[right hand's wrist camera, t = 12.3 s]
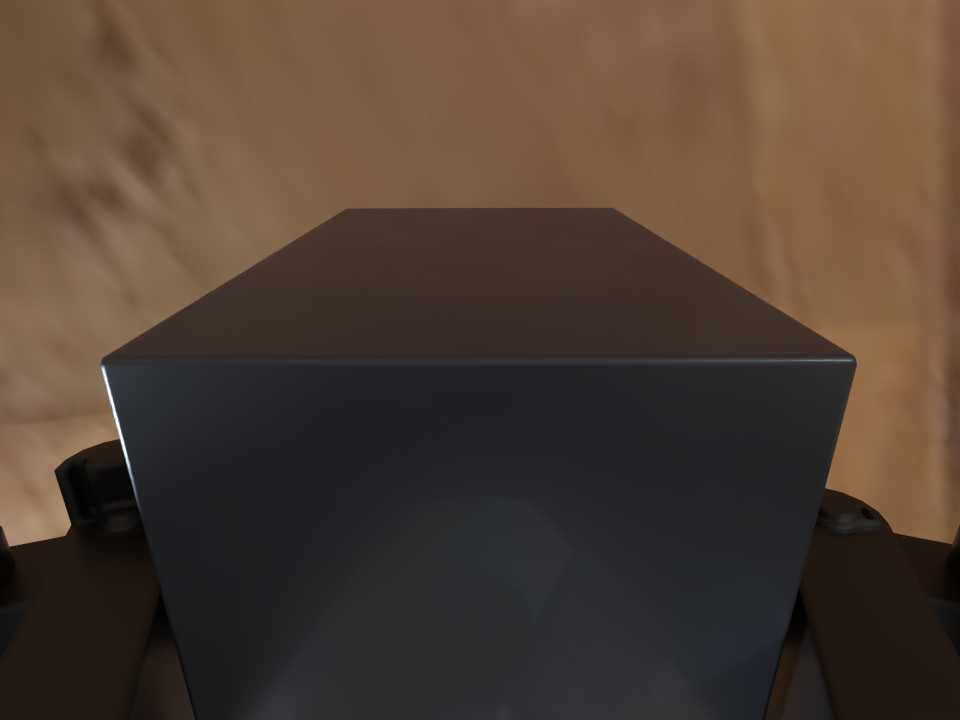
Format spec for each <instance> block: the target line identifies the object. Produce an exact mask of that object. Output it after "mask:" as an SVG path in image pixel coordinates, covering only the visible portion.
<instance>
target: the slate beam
mask: <svg viewBox="0 0 960 720" xmlns="http://www.w3.org/2000/svg"><path fill="white" fill-rule="evenodd" d="M856 366H857V364H856V358H855V357H854V356H853V355H852V354H850V353H848V352H847V351H845V350H844V349H842V348H840V347H839V346H837V345H835V344H834V343H832V342H831V341H829V340H827V339H826V338H824V337H822V336H821V335H819V334H817V333H816V332H814V331H813V330H811V329H809V328H808V327H806V326H804V325H803V324H801V323H800V322H798V321H796V320H795V319H793V318H791V317H790V316H788V315H787V314H785V313H783V312H782V311H780V310H778V309H777V308H775V307H773V306H772V305H770V304H769V303H767V302H765V301H764V300H762V299H760V298H759V297H757V296H756V295H754V294H752V293H751V292H749V291H747V290H746V289H744V288H743V287H741V286H739V285H738V284H736V283H734V282H733V281H731V280H730V279H728V278H726V277H725V276H723V275H721V274H720V273H718V272H716V271H715V270H713V269H712V268H710V267H708V266H707V265H705V264H703V263H702V262H700V261H699V260H697V259H695V258H694V257H692V256H690V255H689V254H687V253H686V252H684V251H682V250H681V249H679V248H677V247H676V246H674V245H672V244H671V243H669V242H668V241H666V240H664V239H663V238H661V237H659V236H658V235H656V234H655V233H653V232H651V231H650V230H648V229H646V228H645V227H643V226H642V225H640V224H638V223H637V222H635V221H633V220H632V219H630V218H628V217H627V216H625V215H624V214H622V213H620V212H619V211H617V210H615V209H614V208H408V209H346V210H344V211H342V212H341V213H339V214H337V215H336V216H334V217H332V218H331V219H329V220H328V221H326V222H324V223H323V224H321V225H319V226H318V227H316V228H314V229H313V230H311V231H310V232H308V233H306V234H305V235H303V236H301V237H300V238H298V239H296V240H295V241H293V242H292V243H290V244H288V245H287V246H285V247H283V248H282V249H280V250H278V251H277V252H275V253H274V254H272V255H270V256H269V257H267V258H265V259H264V260H262V261H260V262H259V263H257V264H256V265H254V266H252V267H251V268H249V269H247V270H246V271H244V272H242V273H241V274H239V275H238V276H236V277H234V278H233V279H231V280H229V281H228V282H226V283H224V284H223V285H221V286H220V287H218V288H216V289H215V290H213V291H211V292H210V293H208V294H206V295H205V296H203V297H202V298H200V299H198V300H197V301H195V302H193V303H192V304H190V305H189V306H187V307H185V308H184V309H182V310H180V311H179V312H177V313H175V314H174V315H172V316H171V317H169V318H167V319H166V320H164V321H162V322H161V323H159V324H157V325H156V326H154V327H153V328H151V329H149V330H148V331H146V332H144V333H143V334H141V335H139V336H138V337H136V338H135V339H133V340H131V341H130V342H128V343H126V344H125V345H123V346H121V347H120V348H118V349H117V350H115V351H113V352H112V353H110V354H108V355H107V356H105V357H103V359H102V361H101V370H102V374H103V378H104V381H105V385H106V389H107V393H108V396H109V400H110V404H111V407H112V411H113V415H114V419H115V422H116V426H117V430H118V434H119V437H120V441H121V445H122V449H123V452H124V456H125V460H126V463H127V467H128V471H129V475H130V478H131V482H132V486H133V490H134V493H135V497H136V501H137V504H138V508H139V512H140V516H141V519H142V523H143V527H144V531H145V534H146V538H147V542H148V546H149V549H150V553H151V557H152V560H153V564H154V568H155V572H156V575H157V579H158V583H159V587H160V590H161V594H162V598H163V602H164V605H165V609H166V613H167V616H168V620H169V624H170V628H171V631H172V635H173V639H174V643H175V646H176V650H177V654H178V657H179V661H180V665H181V669H182V672H183V676H184V680H185V684H186V687H187V691H188V695H189V699H190V702H191V706H192V710H193V713H194V717H195V720H765V716H766V713H767V709H768V705H769V701H770V697H771V693H772V690H773V686H774V682H775V678H776V674H777V670H778V666H779V663H780V659H781V655H782V651H783V647H784V643H785V639H786V636H787V632H788V628H789V624H790V620H791V616H792V612H793V609H794V605H795V601H796V597H797V593H798V589H799V586H800V582H801V578H802V574H803V570H804V566H805V562H806V559H807V555H808V551H809V547H810V543H811V539H812V535H813V532H814V528H815V524H816V520H817V516H818V512H819V508H820V505H821V501H822V497H823V493H824V489H825V485H826V482H827V478H828V474H829V470H830V466H831V462H832V458H833V455H834V451H835V447H836V443H837V439H838V435H839V431H840V428H841V424H842V420H843V416H844V412H845V408H846V404H847V401H848V397H849V393H850V389H851V385H852V381H853V377H854V374H855V370H856Z"/></svg>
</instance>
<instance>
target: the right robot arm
mask: <svg viewBox="0 0 960 720" xmlns="http://www.w3.org/2000/svg"><path fill="white" fill-rule="evenodd" d="M54 471H55V475H56V478H57V481H58V484H59V487H60V490H61V493H62V496H63V500H64V503H65V506H66V509H67V512H68V515H69V518H70V521H71V527H70V528H69V530H68V532H67V534H66V536H63V537H58V538H53V539H48V540H42V541H37V542H32V543H27V544H22V545H16V546H11V547H9V545H8V542H7V540H6V537H5V534H4V532H3V529H2V527H1V526H0V720H195V717H194V713H193V710H192V706H191V702H190V699H189V695H188V691H187V687H186V684H185V680H184V676H183V672H182V669H181V665H180V661H179V657H178V654H177V650H176V646H175V643H174V639H173V635H172V631H171V628H170V624H169V620H168V616H167V613H166V609H165V605H164V602H163V598H162V594H161V590H160V587H159V583H158V579H157V575H156V572H155V568H154V564H153V560H152V557H151V553H150V549H149V546H148V542H147V538H146V534H145V531H144V527H143V523H142V519H141V516H140V512H139V508H138V504H137V501H136V497H135V493H134V490H133V486H132V482H131V478H130V475H129V471H128V467H127V463H126V460H125V456H124V452H123V449H122V445H121V441H120V439H118V440H113V441H109V442H104V443H101V444H98V445H96V446H93V447H90V448H87V449H84V450H82V451H80V452H79V453H77V454H75V455H73V456H71V457H70V458H68V459H66V460H65V461H64V462H63V463H62V464H61V465H60V466H59V467H58V468H57V469H55V470H54ZM765 720H960V525H959V528H958V531H957V533H956V536H955V539H954V541H953V544H948V543H942V542H937V541H932V540H927V539H921V538H916V537H911V536H906V535H901V534H897V533H893V531H892V529H891V527H890V525H889V524H888V523H887V521H886V520H885V519H884V518H883V517H882V515H881V514H880V513H879V512H878V511H876V510H875V509H873V508H872V507H870V506H869V505H867V504H866V503H864V502H863V501H861V500H859V499H856V498H854V497H852V496H849V495H847V494H844V493H842V492H838V491H834V490H830V489H826V488H825V489H824V493H823V497H822V501H821V505H820V508H819V512H818V516H817V520H816V524H815V528H814V532H813V535H812V539H811V543H810V547H809V551H808V555H807V559H806V562H805V566H804V570H803V574H802V578H801V582H800V586H799V589H798V593H797V597H796V601H795V605H794V609H793V612H792V616H791V620H790V624H789V628H788V632H787V636H786V639H785V643H784V647H783V651H782V655H781V659H780V663H779V666H778V670H777V674H776V678H775V682H774V686H773V690H772V693H771V697H770V701H769V705H768V709H767V713H766V716H765Z"/></svg>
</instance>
